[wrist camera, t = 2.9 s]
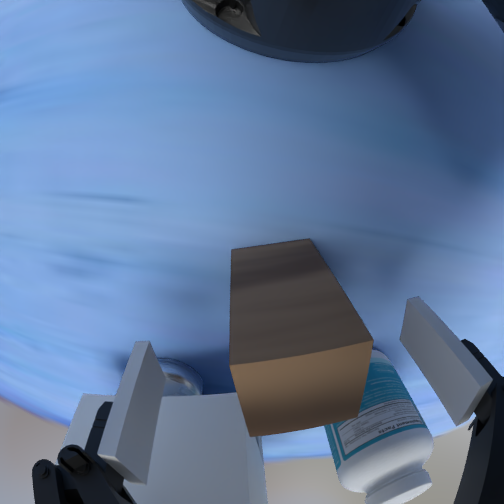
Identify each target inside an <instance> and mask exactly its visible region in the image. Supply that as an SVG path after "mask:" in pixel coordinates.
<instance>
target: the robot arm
mask: <svg viewBox="0 0 504 504" xmlns="http://www.w3.org/2000/svg"><path fill="white" fill-rule="evenodd" d="M420 1H421V0H182V2H183V4H184V5H185V7H186V8H187V10H188V11H189V12H190V13H191V14H192V15H193V17H194V18H195V19H196V20H197V21H199V22H200V23H201V24H202V25H203V26H204V27H206V28H207V29H208V30H210V31H211V32H213V33H214V34H216V35H217V36H219V37H221V38H222V39H224V40H226V41H228V42H230V43H232V44H234V45H237V46H239V47H241V48H244V49H246V50H249V51H252V52H255V53H258V54H261V55H265V56H269V57H273V58H277V59H283V60H289V61H297V62H316V63H317V62H334V61H340V60H346V59H350V58H354V57H357V56H360V55H362V54H365V53H367V52H369V51H371V50H373V49H375V48H377V47H379V46H381V45H383V44H385V43H387V42H388V41H390V40H391V39H393V38H394V37H396V36H397V35H398V34H399V33H400V32H401V31H402V30H403V29H404V28H405V27H406V26H407V24H408V23H409V21H410V20H411V18H412V16H413V14H414V12H415V9H416V6H417V4H418V3H419V2H420ZM482 2H483V3H484V4H485V6H486V7H487V8H488V10H489V12H490V13H491V14H492V16H493V17H494V19H495V20H496V22H497V23H498V25H499V26H500V28H501V29H502V31H503V33H504V0H482ZM400 341H401V342H402V344H403V345H404V347H405V348H406V349H407V351H408V352H409V354H410V355H411V357H412V358H413V360H414V361H415V363H416V364H417V365H418V367H419V368H420V370H421V371H422V373H423V374H424V376H425V377H426V379H427V380H428V382H429V384H430V385H431V387H432V388H433V390H434V391H435V393H436V394H437V396H438V397H439V399H440V401H441V402H442V404H443V405H444V407H445V409H446V410H447V412H448V414H449V415H450V417H451V418H452V420H453V422H454V423H455V425H456V426H458V425H460V424H462V423H463V422H465V421H467V420H469V418H470V417H471V415H472V414H473V412H474V413H475V414H476V417H475V419H474V420H473V422H472V423H471V424H470V426H469V428H468V430H470V429H471V428H472V426H473V431H472V437H471V442H470V447H469V451H468V456H467V460H466V464H465V468H464V472H463V475H462V479H461V482H460V485H459V489H458V492H457V495H456V498H455V501H454V504H504V377H502V376H501V375H500V374H499V373H498V371H497V370H496V369H495V368H494V367H493V365H492V364H491V363H490V362H489V361H488V360H487V358H486V357H484V355H483V354H482V353H481V352H480V350H479V349H478V348H477V347H476V346H475V345H474V344H473V343H471V342H470V341H468V340H466V339H464V340H461V341H460V340H459V339H458V338H457V336H456V335H455V334H454V333H453V332H452V331H451V330H450V329H449V328H448V326H447V325H446V324H445V323H444V322H443V321H442V320H441V319H440V318H439V317H438V316H437V315H436V314H435V313H434V311H433V310H432V309H431V308H430V307H429V306H428V305H427V304H426V303H425V302H424V301H423V300H422V299H421V298H420V297H419V296H418V297H414V298H410V299H407V304H406V310H405V315H404V321H403V326H402V331H401V336H400ZM165 381H166V377H165V375H164V373H163V371H162V369H161V366H160V364H159V362H158V360H157V358H156V355H155V353H154V351H153V348H152V346H151V344H150V341H138V342H135V345H134V347H133V350H132V352H131V355H130V357H129V360H128V363H127V365H126V368H125V371H124V374H123V376H122V379H121V382H120V385H119V387H118V390H117V393H116V396H115V399H114V402H108V401H105V402H104V403H103V404H102V405H101V406H100V408H99V409H98V411H97V414H96V417H95V420H94V422H93V425H92V426H93V427H92V428H91V431H90V434H89V437H88V440H87V443H86V446H85V449H84V450H83V449H82V448H81V447H80V446H78V445H74V444H71V445H67V446H65V447H64V448H62V449H61V451H60V452H59V454H58V458H57V459H58V464H59V465H54V464H53V463H52V462H51V461H49V460H46V459H42V460H39V461H38V462H37V463H35V465H34V467H33V469H32V478H33V490H34V499H35V504H137V503H136V502H135V501H134V499H133V498H132V496H131V495H130V493H129V492H128V490H127V489H126V487H125V486H124V485H123V482H124V479H125V480H127V481H128V482H129V483H130V484H137V485H146V486H147V479H148V473H149V466H150V460H151V454H152V448H153V443H154V437H155V431H156V426H157V421H158V416H159V410H160V405H161V400H162V396H163V391H164V386H165Z"/></svg>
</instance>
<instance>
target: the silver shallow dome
mask: <svg viewBox="0 0 504 504" xmlns="http://www.w3.org/2000/svg"><path fill="white" fill-rule="evenodd" d="M157 360H158V362H159V364H160V366H161V369H162V371H163V373H164V375H165V377H166V381H165V386H164V391H163V396H162V397H164V396H195V395H202V393H203V381H202V379H201V377H200V375H199V374H198V373H197V372H196V371H195V370H194V369H193V368H191V367H190V366H188V365H186V364H185V363H182V362H180V361H177V360H173V359H168V358H157Z"/></svg>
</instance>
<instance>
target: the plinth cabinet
mask: <svg viewBox="0 0 504 504" xmlns="http://www.w3.org/2000/svg"><path fill="white" fill-rule="evenodd" d="M114 399H115V396H112V395H97V394H85V393H83V395H82V398H81V400H80V402H79V404H78V407H77V409H76V412H75V414H74V416H73V419H72V421H71V424H70V426H69V429H68V431H67V434H66V436H65V439H64V442H63V445H62V447H61V449H62V448H64V447H65V446H67V445H71V444H74V445H78V446H80V447H81V448H82V449H83V450H84V449H85V446H86V443H87V440H88V437H89V434H90V431H91V428H92V427H93V426H92V425H93V422H94V420H95V417H96V414H97V411H98V409H99V408H100V406H101V405H102V404H103V403H104V402H105V401H108V402H114ZM60 451H61V450H60ZM55 465H59V464H58V459H57V461H56V464H55ZM123 485H124V486H125V487H126V489H127V490H128V492H129V493H130V495H131V496H132V498H133V499H134V501H135V502H136V503H137V504H268V501H267V491H266V481H265V471H264V460H263V450H262V440H261V436H256V437H250V436H249V433H248V429H247V426H246V423H245V419H244V416H243V413H242V409H241V406H240V402H239V399H238V395H237V392H235V393H224V394H211V395H195V396H164V397H162V400H161V405H160V410H159V416H158V421H157V426H156V431H155V437H154V443H153V448H152V454H151V460H150V466H149V473H148V479H147V486H146V485H137V484H130V483H129V482H128V481H127V480H125V479H124V482H123Z"/></svg>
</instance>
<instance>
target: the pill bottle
mask: <svg viewBox="0 0 504 504" xmlns="http://www.w3.org/2000/svg"><path fill="white" fill-rule="evenodd" d="M324 427H325V430H326V434H327V437H328V441H329V445H330V448H331V452H332V456H333V459H334V463H335V466H336V470H337V474H338V478H339V481H340V483H341V485H342V486H343V487H344V488H346V489H348V490H350V491H353V492H366V493H367V496H366V500H365V503H366V504H403V503H405V502H407V501H409V500H411V499H413V498H415V497H416V496H418V495H420V494H421V493H423V492H424V491H426V490H427V489H428V488H429V487H430V486H431V485H432V481H431V479H430V476H429V474H428V472H427V471H426V470H425V469H422V465H423V464H424V463H425V462H426V461H427V460H428V458H429V457H430V455H431V453H432V450H433V447H434V442H433V437H432V435H431V433H430V431H429V430H428V428H427V426H426V424H425V422H424V420H423V418H422V416H421V415H420V413H419V411H418V409H417V407H416V406H415V404H414V402H413V400H412V398H411V396H410V395H409V393H408V391H407V389H406V388H405V386H404V384H403V382H402V381H401V379H400V377H399V376H398V374H397V372H396V370H395V369H394V367H393V365H392V364H391V362H390V360H389V359H388V358H387V356H386V355H384V354H383V353H382V352H380V351H377V350H373V349H372V353H371V358H370V364H369V369H368V374H367V379H366V384H365V389H364V393H363V398H362V402H361V406H360V410H359V414H358V417H357V418H353V419H349V420H345V421H341V422H337V423H333V424H329V425H324Z"/></svg>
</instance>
